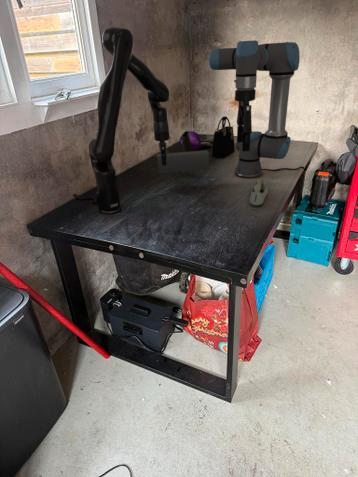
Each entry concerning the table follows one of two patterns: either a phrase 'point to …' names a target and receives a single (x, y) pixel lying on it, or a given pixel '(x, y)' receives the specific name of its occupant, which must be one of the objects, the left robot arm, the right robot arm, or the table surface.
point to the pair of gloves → (207, 141)
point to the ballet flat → (258, 193)
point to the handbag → (223, 140)
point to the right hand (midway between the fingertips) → (242, 146)
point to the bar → (184, 162)
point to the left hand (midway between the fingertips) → (164, 163)
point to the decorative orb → (193, 140)
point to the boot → (186, 142)
